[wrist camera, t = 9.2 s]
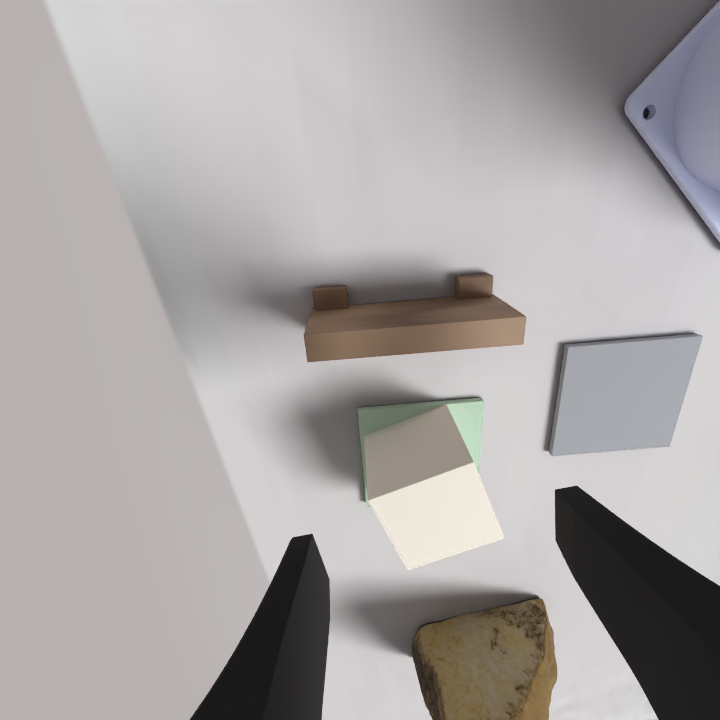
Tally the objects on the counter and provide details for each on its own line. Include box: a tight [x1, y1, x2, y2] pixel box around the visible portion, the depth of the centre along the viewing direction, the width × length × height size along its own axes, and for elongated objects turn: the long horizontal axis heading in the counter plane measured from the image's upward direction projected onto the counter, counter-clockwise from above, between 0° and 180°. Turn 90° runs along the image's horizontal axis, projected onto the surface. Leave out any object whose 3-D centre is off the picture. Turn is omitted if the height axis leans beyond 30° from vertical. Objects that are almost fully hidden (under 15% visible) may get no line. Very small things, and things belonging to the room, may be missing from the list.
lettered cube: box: [364, 404, 504, 570], centre depth 20 cm, size 5×5×5 cm
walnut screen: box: [304, 274, 526, 362], centre depth 17 cm, size 9×3×4 cm, turn 94°
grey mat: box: [549, 334, 703, 456], centre depth 21 cm, size 7×7×1 cm
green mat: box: [357, 398, 484, 507], centre depth 22 cm, size 7×7×1 cm
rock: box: [412, 599, 557, 720], centre depth 27 cm, size 11×9×10 cm
